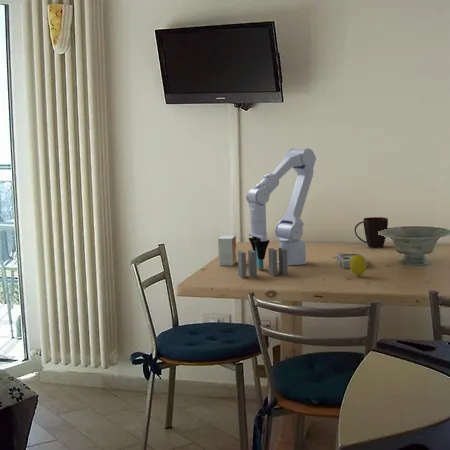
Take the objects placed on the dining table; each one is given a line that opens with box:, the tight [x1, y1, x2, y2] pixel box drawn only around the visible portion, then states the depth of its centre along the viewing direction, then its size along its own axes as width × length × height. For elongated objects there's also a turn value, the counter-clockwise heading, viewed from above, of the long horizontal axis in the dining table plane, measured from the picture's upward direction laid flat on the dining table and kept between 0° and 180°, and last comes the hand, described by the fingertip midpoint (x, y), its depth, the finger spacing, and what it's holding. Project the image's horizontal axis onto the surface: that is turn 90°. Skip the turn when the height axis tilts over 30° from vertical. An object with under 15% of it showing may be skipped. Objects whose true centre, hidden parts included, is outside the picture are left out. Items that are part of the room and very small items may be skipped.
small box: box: [217, 235, 238, 266], centre depth 265 cm, size 8×6×10 cm
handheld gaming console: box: [336, 252, 369, 269], centre depth 256 cm, size 9×4×15 cm
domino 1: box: [237, 249, 247, 279], centre depth 240 cm, size 2×5×9 cm, turn 13°
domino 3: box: [267, 247, 278, 277], centre depth 243 cm, size 2×5×9 cm, turn 13°
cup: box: [354, 216, 389, 249], centre depth 290 cm, size 10×14×12 cm
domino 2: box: [247, 249, 258, 278], centre depth 241 cm, size 2×5×9 cm, turn 13°
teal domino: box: [255, 246, 265, 269], centre depth 252 cm, size 2×5×9 cm, turn 13°
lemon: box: [349, 253, 367, 277], centre depth 235 cm, size 6×6×8 cm
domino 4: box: [278, 247, 288, 276], centre depth 244 cm, size 2×5×9 cm, turn 13°
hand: (259, 257), depth 252 cm, fingers closed on teal domino, 5 cm apart
